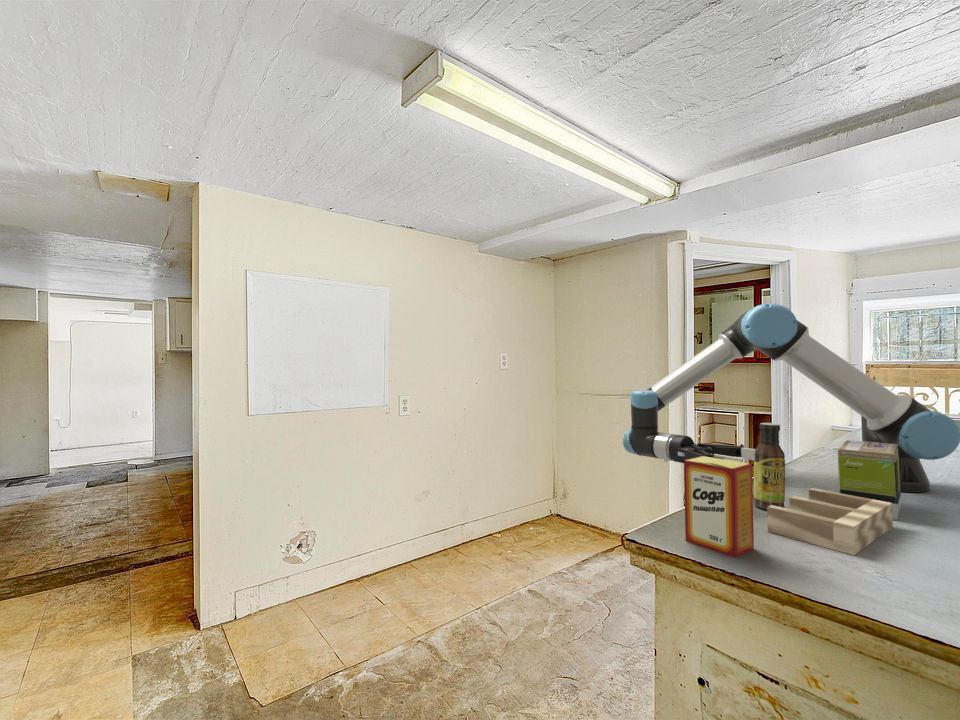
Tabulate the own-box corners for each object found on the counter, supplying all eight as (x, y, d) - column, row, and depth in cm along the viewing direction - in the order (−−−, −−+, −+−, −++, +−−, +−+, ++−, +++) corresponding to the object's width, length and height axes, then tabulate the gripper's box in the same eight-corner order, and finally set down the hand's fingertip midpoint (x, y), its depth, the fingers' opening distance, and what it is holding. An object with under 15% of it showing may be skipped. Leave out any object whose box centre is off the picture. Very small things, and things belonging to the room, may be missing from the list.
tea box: (847, 497, 113) (845, 438, 113) (901, 505, 106) (900, 443, 106) (838, 511, 102) (837, 446, 103) (898, 521, 95) (896, 452, 96)
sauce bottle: (763, 511, 103) (761, 425, 103) (748, 503, 109) (746, 422, 109) (792, 512, 102) (790, 425, 102) (776, 503, 108) (774, 421, 109)
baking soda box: (685, 540, 87) (683, 458, 87) (703, 533, 90) (702, 454, 91) (736, 557, 79) (734, 466, 79) (753, 548, 82) (751, 462, 83)
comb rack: (812, 509, 104) (812, 488, 104) (892, 527, 92) (892, 502, 92) (767, 531, 91) (767, 506, 91) (854, 555, 79) (853, 526, 79)
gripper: (699, 455, 132) (779, 468, 114) (648, 467, 118) (730, 484, 100) (699, 430, 132) (779, 439, 115) (647, 439, 118) (729, 451, 100)
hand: (756, 460), depth 107 cm, fingers open, 13 cm apart
